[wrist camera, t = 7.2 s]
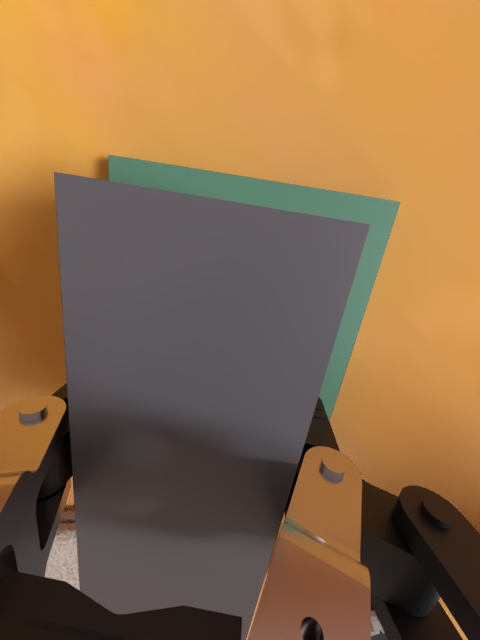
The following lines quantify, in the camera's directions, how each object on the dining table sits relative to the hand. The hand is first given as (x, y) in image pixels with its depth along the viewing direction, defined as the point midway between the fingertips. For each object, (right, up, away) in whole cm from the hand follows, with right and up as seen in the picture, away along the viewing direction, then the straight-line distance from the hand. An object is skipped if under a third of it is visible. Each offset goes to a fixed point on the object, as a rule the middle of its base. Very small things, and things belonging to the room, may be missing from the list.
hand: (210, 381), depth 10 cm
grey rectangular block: (0, 0, +1) cm, 1 cm away
